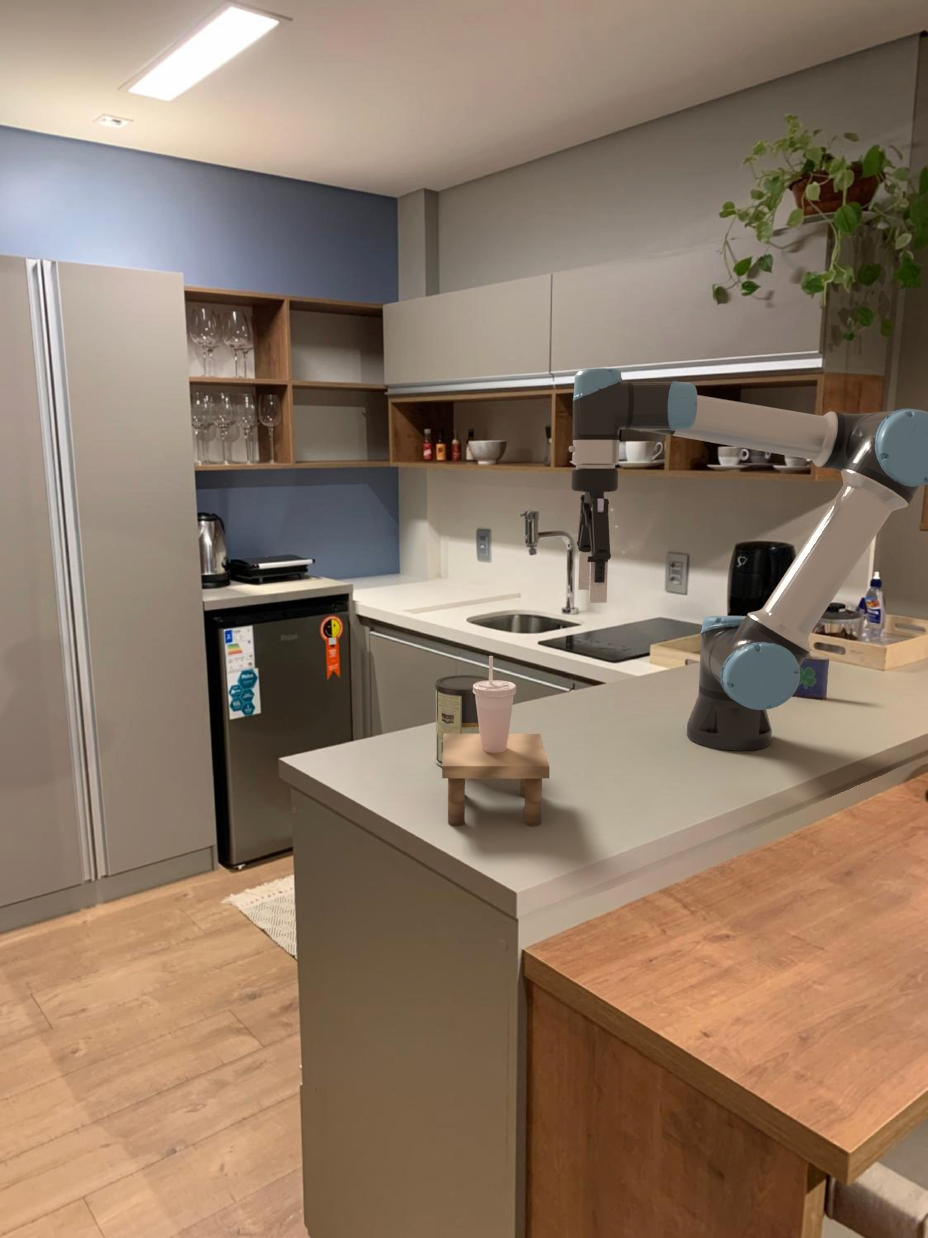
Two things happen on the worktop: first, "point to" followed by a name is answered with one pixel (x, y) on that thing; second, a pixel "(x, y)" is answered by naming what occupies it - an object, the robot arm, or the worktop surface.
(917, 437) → the robot arm
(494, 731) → the smoothie
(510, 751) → the tan square-topped part
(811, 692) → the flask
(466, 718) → the coffee can
